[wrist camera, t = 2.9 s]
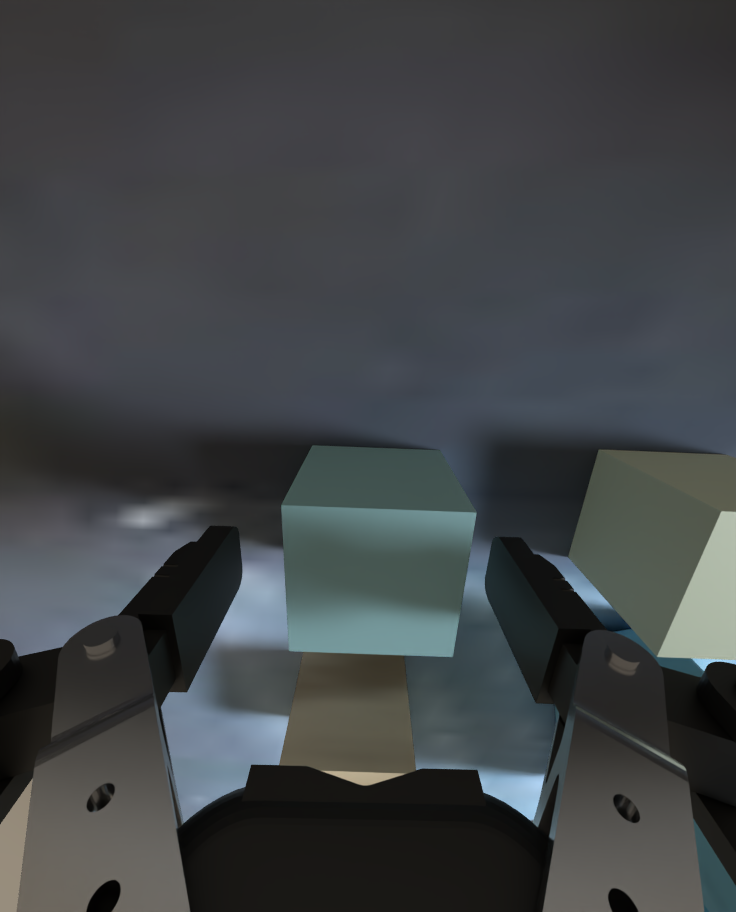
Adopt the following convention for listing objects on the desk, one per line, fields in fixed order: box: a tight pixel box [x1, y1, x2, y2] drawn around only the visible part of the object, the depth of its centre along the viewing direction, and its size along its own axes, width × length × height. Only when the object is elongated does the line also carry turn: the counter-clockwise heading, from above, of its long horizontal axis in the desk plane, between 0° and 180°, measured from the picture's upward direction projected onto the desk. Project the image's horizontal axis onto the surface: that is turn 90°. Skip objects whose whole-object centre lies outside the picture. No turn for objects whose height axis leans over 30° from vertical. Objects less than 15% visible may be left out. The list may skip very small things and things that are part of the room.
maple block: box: [279, 652, 416, 785], centre depth 15 cm, size 5×5×5 cm
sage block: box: [568, 449, 736, 660], centre depth 12 cm, size 5×5×5 cm
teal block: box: [281, 445, 477, 657], centre depth 12 cm, size 5×5×5 cm
